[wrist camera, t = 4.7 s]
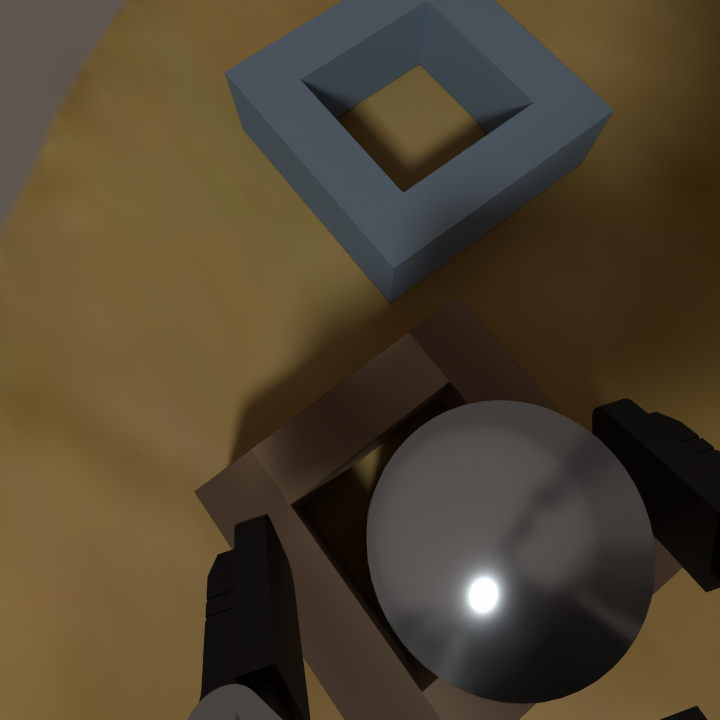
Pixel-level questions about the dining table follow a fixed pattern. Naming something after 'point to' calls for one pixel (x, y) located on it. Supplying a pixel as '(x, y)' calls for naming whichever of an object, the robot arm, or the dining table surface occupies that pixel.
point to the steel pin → (510, 551)
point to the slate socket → (460, 79)
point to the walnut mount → (332, 459)
